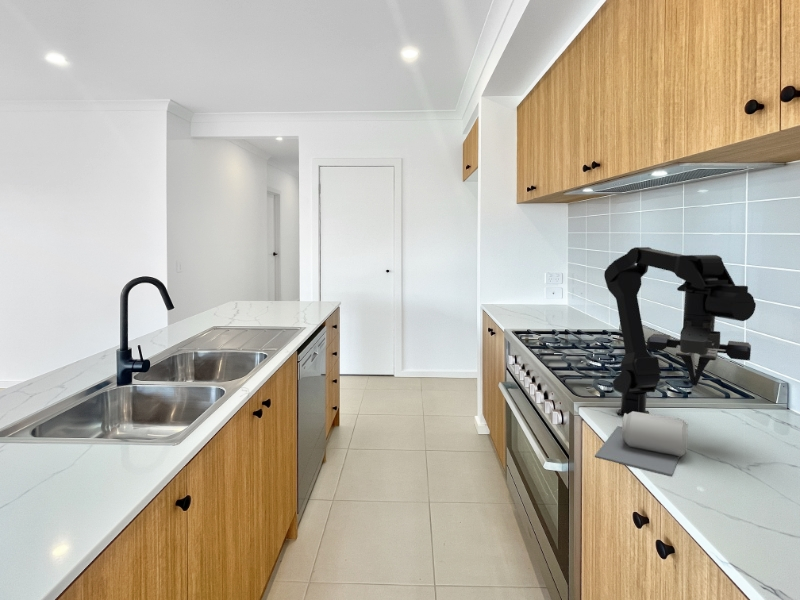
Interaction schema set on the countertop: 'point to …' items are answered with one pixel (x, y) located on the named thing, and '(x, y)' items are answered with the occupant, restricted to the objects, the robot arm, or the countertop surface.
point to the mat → (636, 455)
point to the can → (655, 433)
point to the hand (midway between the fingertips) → (694, 385)
